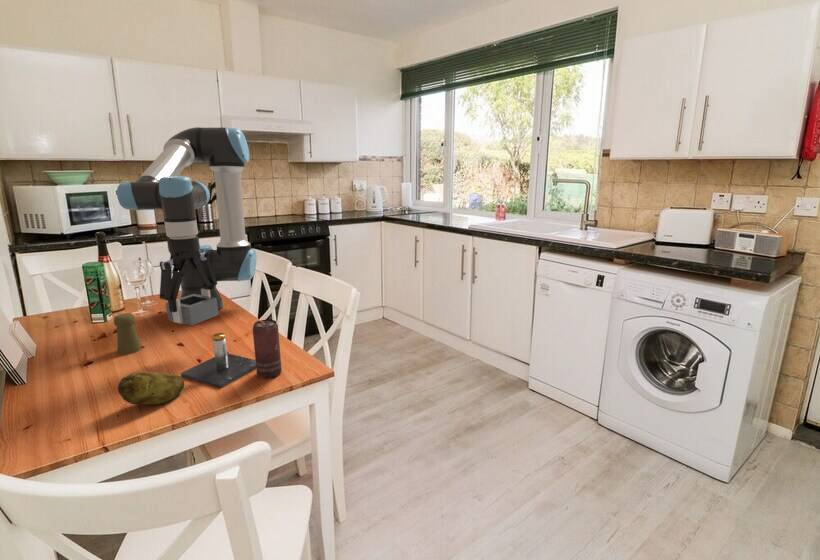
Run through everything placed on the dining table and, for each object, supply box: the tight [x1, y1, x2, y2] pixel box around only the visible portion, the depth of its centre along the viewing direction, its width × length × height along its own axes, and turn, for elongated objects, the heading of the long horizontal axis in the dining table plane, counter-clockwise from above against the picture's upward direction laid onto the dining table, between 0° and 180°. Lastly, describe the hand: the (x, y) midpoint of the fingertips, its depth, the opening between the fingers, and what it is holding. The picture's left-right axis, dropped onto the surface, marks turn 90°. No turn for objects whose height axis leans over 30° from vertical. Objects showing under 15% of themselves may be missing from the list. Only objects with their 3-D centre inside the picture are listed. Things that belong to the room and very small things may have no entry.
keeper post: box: [180, 332, 256, 389], centre depth 115 cm, size 14×14×10 cm
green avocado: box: [117, 371, 185, 406], centre depth 100 cm, size 8×13×8 cm, turn 122°
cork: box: [113, 312, 143, 355], centre depth 127 cm, size 6×6×11 cm
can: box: [252, 319, 282, 379], centre depth 113 cm, size 6×6×14 cm
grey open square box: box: [165, 294, 220, 326], centre depth 122 cm, size 9×9×5 cm
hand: (193, 316), depth 123 cm, fingers closed on grey open square box, 9 cm apart
